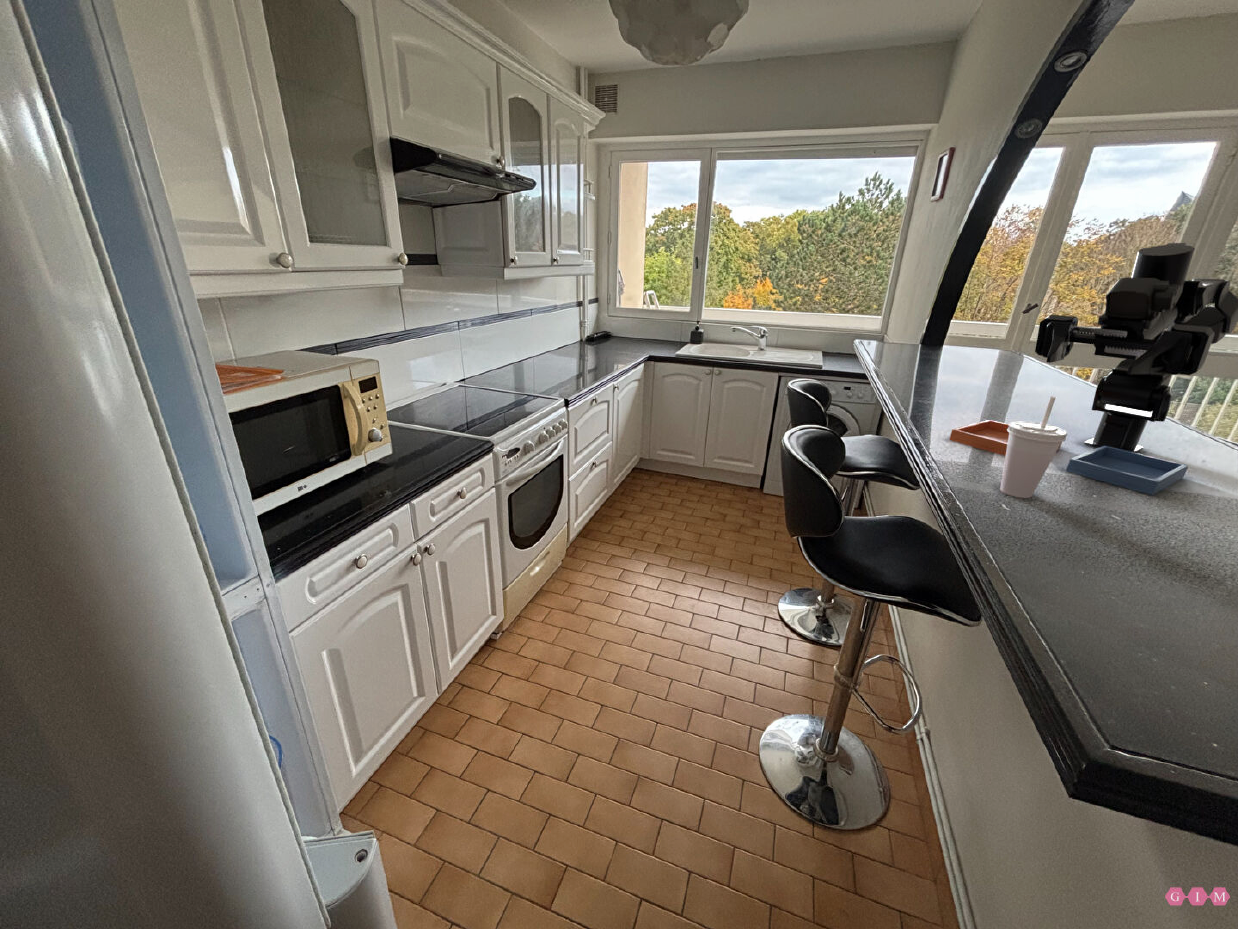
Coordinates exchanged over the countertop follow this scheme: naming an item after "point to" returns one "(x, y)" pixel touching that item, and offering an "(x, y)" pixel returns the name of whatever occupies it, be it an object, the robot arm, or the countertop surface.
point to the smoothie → (1029, 454)
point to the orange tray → (984, 436)
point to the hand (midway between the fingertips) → (1086, 364)
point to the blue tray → (1127, 469)
